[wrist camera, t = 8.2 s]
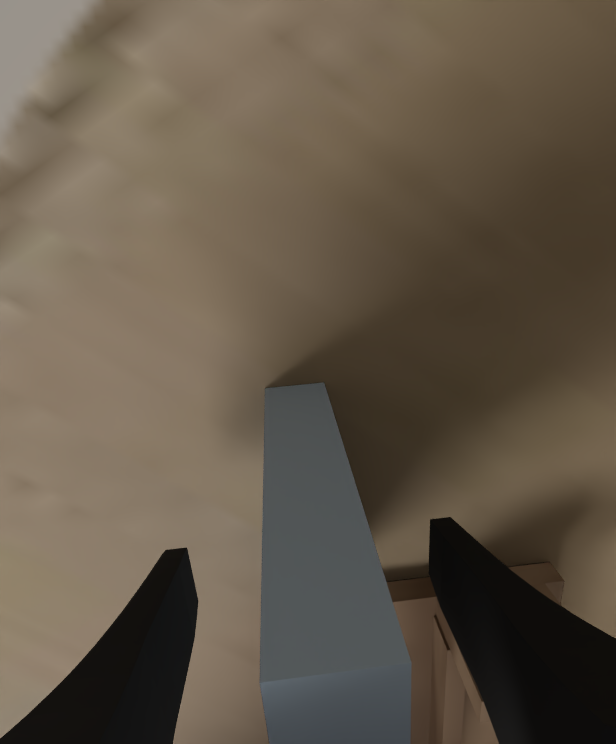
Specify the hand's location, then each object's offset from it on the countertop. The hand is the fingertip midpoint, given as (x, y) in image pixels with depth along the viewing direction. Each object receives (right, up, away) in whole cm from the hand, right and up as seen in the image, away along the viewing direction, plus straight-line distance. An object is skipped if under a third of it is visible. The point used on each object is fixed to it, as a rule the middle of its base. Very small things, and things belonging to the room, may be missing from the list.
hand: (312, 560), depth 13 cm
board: (0, +1, +3) cm, 4 cm away
